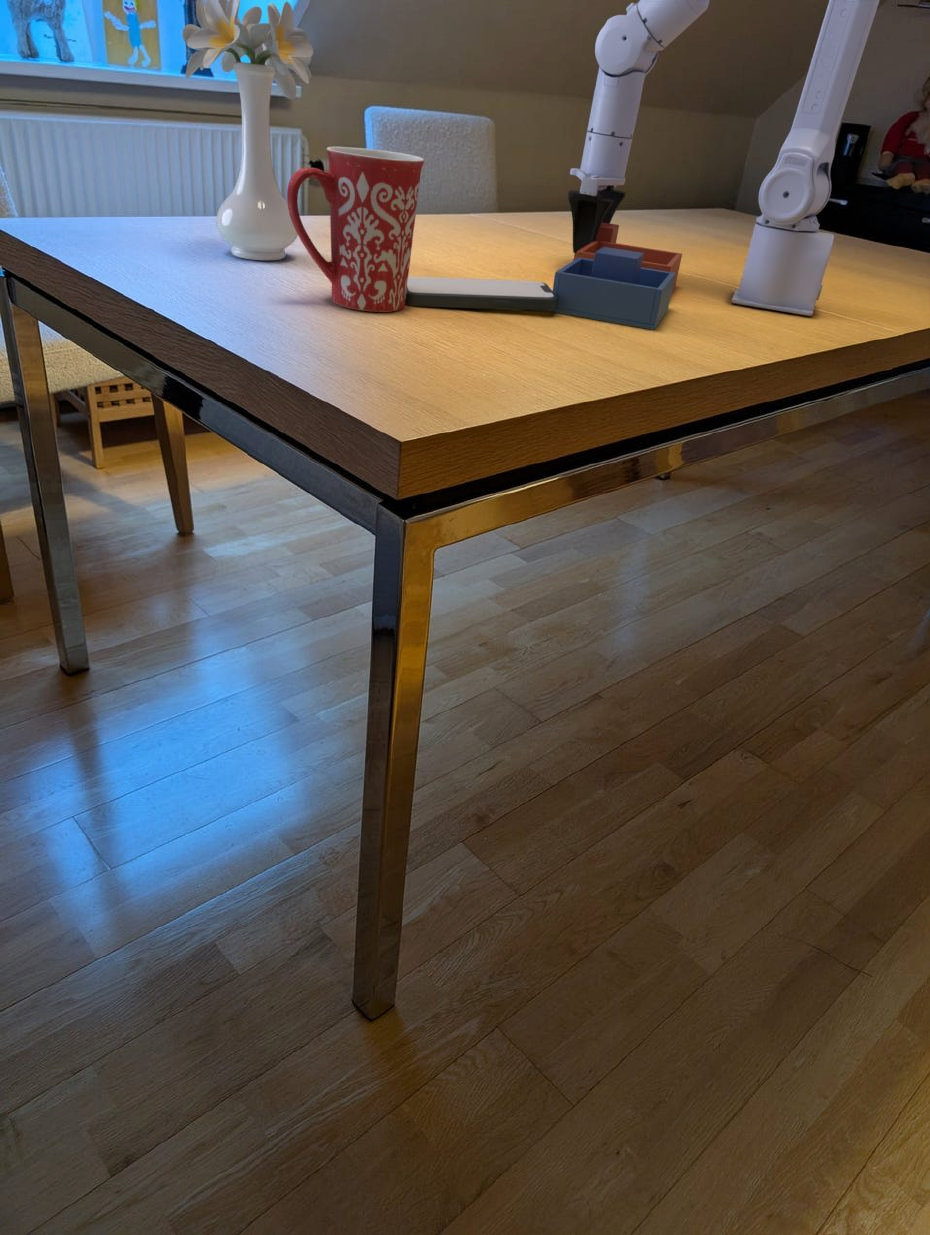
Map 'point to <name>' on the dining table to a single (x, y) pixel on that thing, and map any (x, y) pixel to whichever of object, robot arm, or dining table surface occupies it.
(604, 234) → the terracotta block
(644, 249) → the terracotta bin
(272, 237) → the flower vase
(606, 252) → the blue block
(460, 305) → the phone case
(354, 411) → the dining table surface
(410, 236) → the mug
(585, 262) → the blue bin
